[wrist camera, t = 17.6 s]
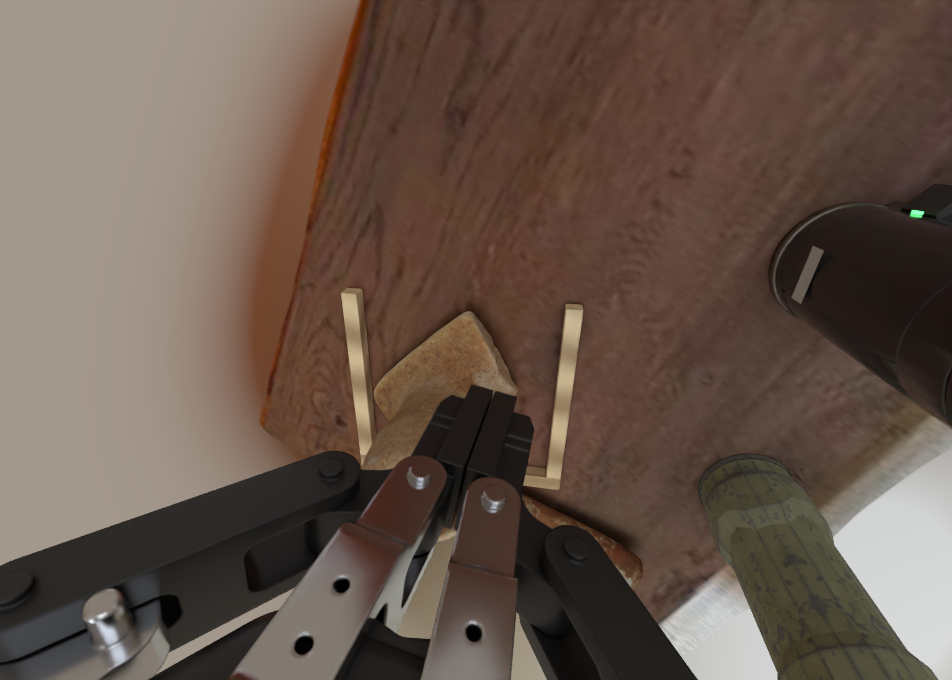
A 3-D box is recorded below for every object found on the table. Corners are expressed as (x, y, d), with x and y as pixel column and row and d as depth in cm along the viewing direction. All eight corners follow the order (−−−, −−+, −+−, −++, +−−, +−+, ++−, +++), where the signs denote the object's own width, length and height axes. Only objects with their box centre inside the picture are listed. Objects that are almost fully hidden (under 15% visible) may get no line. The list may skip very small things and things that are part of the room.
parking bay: (347, 287, 41) (340, 292, 40) (582, 304, 38) (583, 310, 37) (366, 456, 50) (361, 465, 49) (558, 480, 47) (559, 490, 46)
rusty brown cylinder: (607, 572, 52) (613, 618, 47) (474, 493, 50) (465, 533, 45) (643, 544, 49) (654, 590, 44) (504, 460, 47) (498, 498, 42)
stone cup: (439, 457, 48) (397, 580, 35) (364, 382, 46) (287, 485, 32) (549, 390, 43) (549, 508, 29) (471, 300, 40) (431, 384, 26)
